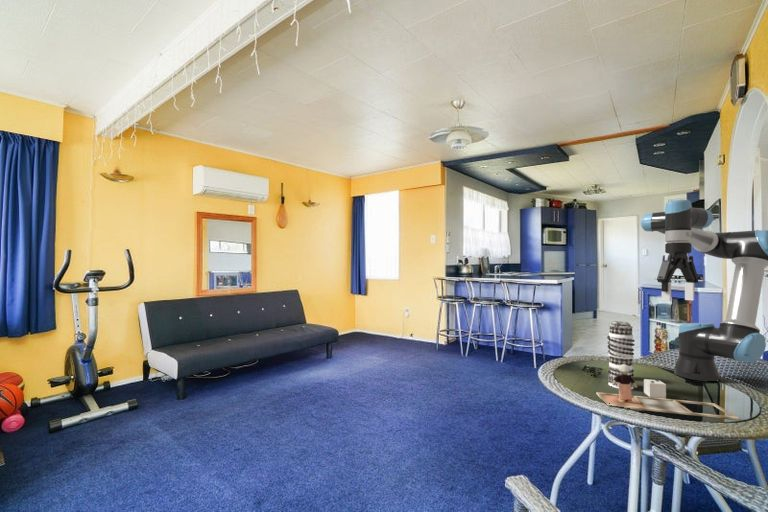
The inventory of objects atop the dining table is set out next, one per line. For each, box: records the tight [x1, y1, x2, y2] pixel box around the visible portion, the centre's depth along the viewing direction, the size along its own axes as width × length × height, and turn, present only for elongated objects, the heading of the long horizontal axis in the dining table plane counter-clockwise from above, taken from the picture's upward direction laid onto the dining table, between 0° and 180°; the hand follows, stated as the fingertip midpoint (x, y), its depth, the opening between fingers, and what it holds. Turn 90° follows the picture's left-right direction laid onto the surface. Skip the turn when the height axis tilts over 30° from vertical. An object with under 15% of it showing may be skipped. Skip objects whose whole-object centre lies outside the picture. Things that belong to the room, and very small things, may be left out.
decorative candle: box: [606, 320, 636, 390], centre depth 144 cm, size 9×9×25 cm
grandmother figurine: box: [612, 364, 638, 403], centre depth 127 cm, size 8×4×13 cm, turn 90°
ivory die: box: [643, 378, 667, 399], centre depth 134 cm, size 5×5×6 cm
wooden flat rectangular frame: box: [596, 391, 741, 421], centre depth 124 cm, size 36×13×1 cm, turn 75°
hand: (678, 300), depth 134 cm, fingers open, 13 cm apart
